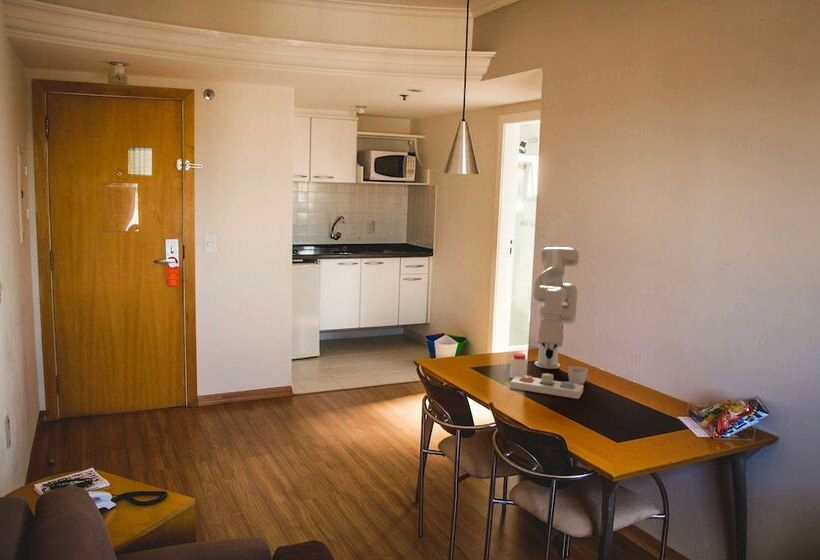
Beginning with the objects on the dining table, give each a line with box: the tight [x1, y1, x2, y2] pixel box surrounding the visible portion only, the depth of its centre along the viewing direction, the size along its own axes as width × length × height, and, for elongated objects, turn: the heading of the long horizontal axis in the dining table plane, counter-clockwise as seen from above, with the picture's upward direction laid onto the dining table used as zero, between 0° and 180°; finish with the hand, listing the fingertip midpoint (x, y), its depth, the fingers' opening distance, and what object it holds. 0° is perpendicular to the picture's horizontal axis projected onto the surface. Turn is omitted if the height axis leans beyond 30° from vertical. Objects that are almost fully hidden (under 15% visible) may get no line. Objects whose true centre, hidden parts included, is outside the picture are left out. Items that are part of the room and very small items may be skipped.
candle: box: [567, 365, 589, 385], centre depth 315 cm, size 9×9×6 cm
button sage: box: [541, 373, 554, 385], centre depth 300 cm, size 5×5×4 cm
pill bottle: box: [509, 352, 529, 380], centre depth 318 cm, size 8×8×11 cm
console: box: [509, 375, 585, 400], centre depth 301 cm, size 12×30×3 cm, turn 68°
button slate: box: [561, 381, 574, 389], centre depth 297 cm, size 5×5×4 cm
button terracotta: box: [521, 375, 533, 383], centre depth 304 cm, size 5×5×4 cm
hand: (549, 358), depth 299 cm, fingers closed
